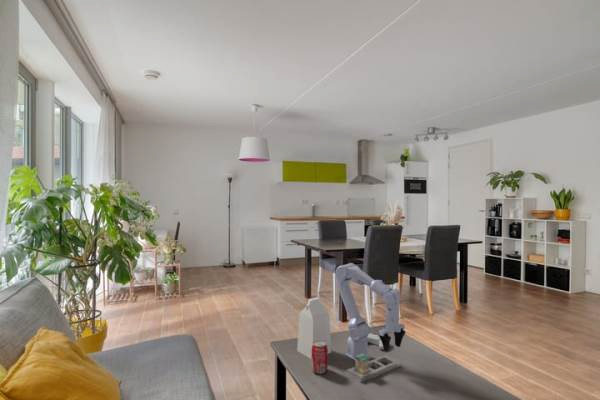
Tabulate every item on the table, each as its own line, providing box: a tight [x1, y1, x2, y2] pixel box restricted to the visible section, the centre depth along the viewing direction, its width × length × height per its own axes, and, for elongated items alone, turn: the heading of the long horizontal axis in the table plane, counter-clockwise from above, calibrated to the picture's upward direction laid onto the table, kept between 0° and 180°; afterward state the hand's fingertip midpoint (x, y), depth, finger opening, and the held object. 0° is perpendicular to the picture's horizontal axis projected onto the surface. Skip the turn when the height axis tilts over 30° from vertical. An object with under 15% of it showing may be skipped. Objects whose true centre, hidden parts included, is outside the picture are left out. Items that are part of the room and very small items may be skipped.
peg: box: [355, 354, 371, 375], centre depth 145 cm, size 4×4×8 cm
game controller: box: [367, 332, 384, 350], centre depth 175 cm, size 14×4×10 cm
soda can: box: [310, 341, 329, 375], centre depth 149 cm, size 7×7×12 cm
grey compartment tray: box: [346, 354, 400, 384], centre depth 149 cm, size 8×24×2 cm, turn 124°
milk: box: [296, 297, 332, 360], centre depth 167 cm, size 12×12×26 cm
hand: (392, 348), depth 150 cm, fingers open, 7 cm apart
